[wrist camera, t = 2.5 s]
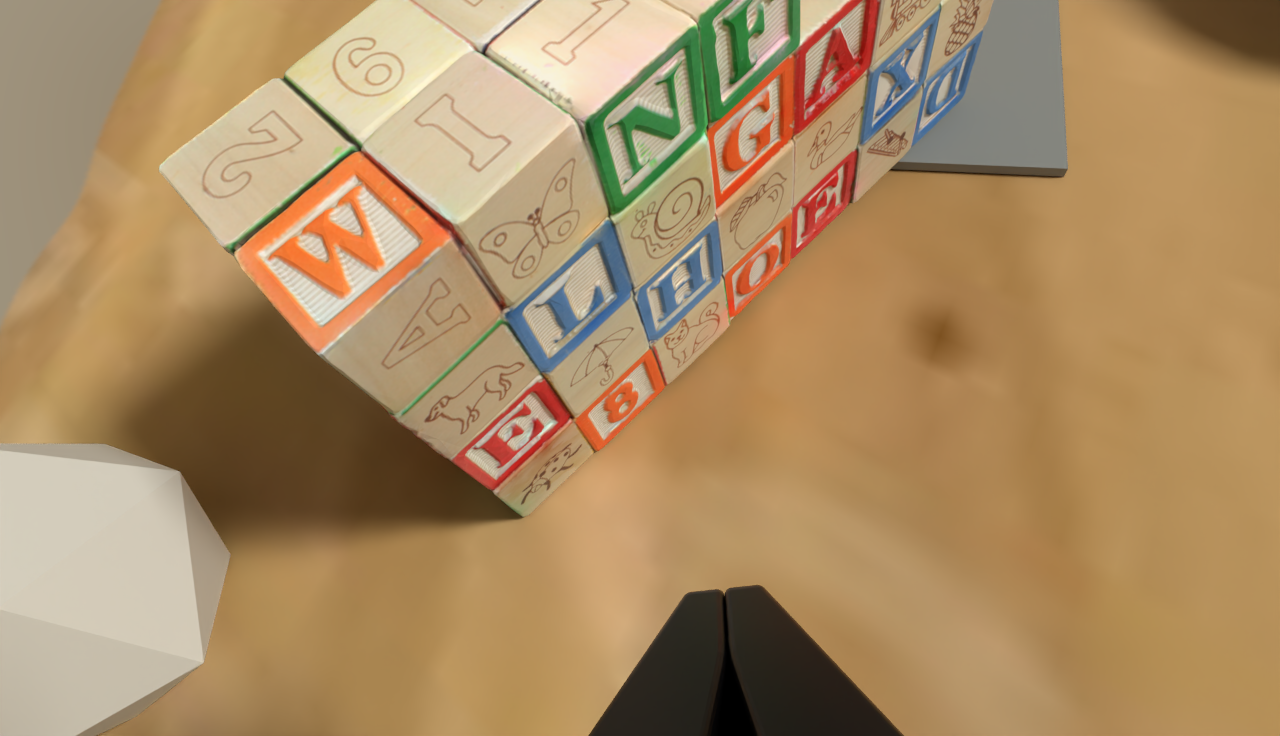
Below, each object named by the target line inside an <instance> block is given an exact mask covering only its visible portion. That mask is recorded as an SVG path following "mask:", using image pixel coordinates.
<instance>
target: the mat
mask: <svg viewBox="0 0 1280 736" xmlns="http://www.w3.org/2000/svg"><path fill="white" fill-rule="evenodd" d="M891 169H902V170H925V171H948V172H971V173H994V174H1016V175H1039V176H1062V177H1064V175H1065V173H1066V171H1067V169H1068V163H1067V146H1066V128H1065V110H1064V92H1063V74H1062V56H1061V39H1060V21H1059V3H1058V0H993V3H992V7H991V10H990V14H989V17H988V20H987V23H986V25H985V26H984V27H983V34H982V38H981V42H980V45H979V48H978V51H977V54H976V58H975V62H974V65H973V67H972V70H971V74H970V78H969V82H968V85H967V88H966V92H965V94H964V96H963V98H962V99H961V100H960V101H959V102H958V103H957V104H956V105H955V106H954V107H953V108H952V109H951V110H950V111H949V112H948V113H947V114H946V115H945V116H944V117H943V118H942V119H940V121H939V122H938V123H937V124H936V125H935V126H934V127H933V128H932V129H931V130H930V131H928V132H927V133H926V134H925V135H924V136H923V137H922V138H921V139H920V140H919V141H918V142H917V143H916V144H915V145H913V146H912V147H911V148H910V149H909V151H908V152H907V153H906V154H905V155H904V156H903V157H902V158H901V159H900V160H899V161H898V162H897V163H896V164H895V165H894V166H893V167H892V168H891Z"/></svg>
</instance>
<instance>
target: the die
mask: <svg viewBox="0 0 1280 736" xmlns="http://www.w3.org/2000/svg"><path fill="white" fill-rule="evenodd" d="M230 556H231V554H230V553H229V551H228V550H227V548H226V546H225V545H224V543H223V541H222V540H221V538H220V536H219V535H218V533H217V532H216V530H215V528H214V527H213V525H212V523H211V522H210V520H209V518H208V517H207V515H206V514H205V512H204V510H203V509H202V507H201V505H200V504H199V502H198V500H197V499H196V497H195V495H194V494H193V492H192V491H191V489H190V487H189V486H188V484H187V482H186V481H185V479H184V477H183V476H182V474H181V473H180V471H177V470H174V469H172V468H169V467H166V466H164V465H161V464H158V463H155V462H153V461H150V460H147V459H145V458H142V457H139V456H136V455H134V454H131V453H128V452H126V451H123V450H120V449H117V448H115V447H112V446H109V445H107V444H0V736H96V735H99V734H101V733H103V732H105V731H107V730H109V729H111V728H113V727H115V726H118V725H120V724H122V723H124V722H126V721H128V720H130V719H132V718H134V717H136V716H138V715H139V714H140V713H141V712H143V711H144V710H145V709H146V708H148V707H149V706H150V705H151V704H153V703H154V702H155V701H156V700H158V699H159V698H160V697H161V696H163V695H164V694H165V693H166V692H168V691H169V690H170V689H171V688H173V687H174V686H175V685H176V684H178V683H179V682H180V681H181V680H183V679H184V678H185V677H186V676H188V675H189V674H190V673H191V672H193V671H194V670H195V669H197V668H198V667H199V666H200V665H202V664H203V663H204V660H205V656H206V652H207V648H208V644H209V640H210V636H211V632H212V628H213V624H214V620H215V616H216V612H217V608H218V604H219V600H220V596H221V592H222V588H223V584H224V580H225V576H226V572H227V568H228V564H229V560H230Z"/></svg>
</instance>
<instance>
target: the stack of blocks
mask: <svg viewBox="0 0 1280 736" xmlns="http://www.w3.org/2000/svg"><path fill="white" fill-rule="evenodd" d="M992 3H993V0H376V1H375V2H373V3H372V4H371V5H370V6H368V7H367V8H366V9H365V10H363V11H362V12H361V13H360V14H358V15H357V16H356V17H355V18H353V19H352V20H351V21H349V22H348V23H347V24H345V25H344V26H343V27H342V28H340V29H339V30H338V31H336V32H335V33H334V34H332V35H331V36H330V37H328V38H327V39H326V40H325V41H323V42H322V43H321V44H319V45H318V46H317V47H315V48H314V49H313V50H311V51H310V52H309V53H308V54H306V55H305V56H304V57H303V58H301V59H300V60H299V61H297V62H296V63H295V64H294V65H292V66H291V67H290V68H289V69H288V70H287V71H286V72H285V75H284V79H272V80H270V81H269V82H267V83H265V84H264V85H262V86H261V87H259V88H258V89H256V90H255V91H254V92H253V93H251V94H250V95H249V96H247V97H246V98H245V99H244V100H242V101H241V102H240V103H238V104H237V105H236V106H235V107H233V108H232V109H231V110H229V111H228V112H227V113H226V114H224V115H223V116H222V117H220V118H219V119H218V120H217V121H215V122H214V123H213V124H211V125H210V126H209V127H207V128H206V129H205V130H203V131H202V132H201V133H199V134H198V135H197V136H195V137H194V138H193V139H191V140H190V141H188V142H187V143H186V144H184V145H183V146H182V147H180V148H179V149H178V150H176V151H175V152H174V153H172V154H171V155H170V156H168V157H167V158H166V159H165V161H164V162H163V163H162V164H161V165H160V166H159V172H160V173H161V174H162V175H163V176H164V177H165V179H166V180H167V181H168V182H169V183H170V184H171V185H172V187H173V188H174V189H175V190H176V192H177V193H178V194H179V195H180V196H181V198H182V199H183V200H184V201H185V202H186V204H187V205H188V206H189V207H190V208H191V210H192V211H193V212H194V213H195V215H196V216H197V217H198V218H199V219H200V221H201V222H202V223H203V224H204V225H205V227H206V228H207V229H208V230H209V232H210V233H211V234H212V235H213V236H214V238H215V239H216V240H217V241H218V243H219V244H220V245H221V246H222V247H223V248H224V249H225V250H226V251H227V252H228V253H230V254H231V255H233V256H234V257H235V259H236V261H237V263H238V264H239V265H240V267H241V268H242V269H243V271H244V272H245V273H246V274H247V275H248V276H249V278H250V279H251V280H252V281H253V282H254V283H255V285H256V286H257V287H258V288H259V289H260V291H261V292H262V293H263V294H264V295H265V296H266V298H267V299H268V300H269V301H270V302H271V303H272V305H273V306H274V307H275V308H276V309H277V310H278V312H279V313H280V314H281V315H282V316H283V317H284V318H285V320H286V321H287V322H288V323H289V324H290V325H291V327H292V328H293V329H294V330H295V331H296V332H297V333H298V335H299V336H300V337H301V338H302V339H303V340H304V341H305V343H306V344H307V345H308V346H309V347H310V348H311V349H312V350H313V351H314V352H315V353H317V354H318V355H319V356H320V357H321V358H322V359H323V360H324V361H326V362H327V363H328V364H329V365H331V366H332V367H333V368H334V369H336V370H337V371H338V372H340V373H341V374H342V375H343V376H345V377H346V378H347V379H348V380H350V381H351V382H352V383H354V384H355V385H356V386H357V387H359V388H360V389H361V390H363V391H364V392H365V393H366V394H368V395H369V396H370V397H371V398H373V399H374V400H375V401H377V402H378V403H379V404H380V405H381V406H382V407H383V408H384V409H385V410H386V411H387V413H388V414H389V415H390V416H391V417H392V418H393V419H394V420H396V421H397V422H398V423H399V424H400V425H402V426H403V427H404V428H406V429H408V430H411V432H412V433H413V434H414V435H415V436H416V437H418V438H419V439H421V440H423V441H424V442H425V443H426V444H427V445H428V446H430V447H431V448H432V449H433V450H434V451H436V452H437V453H439V454H440V455H442V456H443V457H444V458H448V459H449V460H450V461H451V462H452V463H454V464H455V465H457V466H458V467H459V468H460V469H462V470H463V471H464V472H466V473H467V474H468V475H470V476H471V477H472V478H474V479H475V480H477V481H478V482H479V483H481V484H482V485H483V486H485V487H486V488H487V489H490V490H491V491H492V492H493V493H494V494H495V495H496V496H497V497H498V498H499V499H500V500H502V501H503V502H504V503H505V504H506V505H507V506H509V507H510V508H511V509H513V510H514V511H515V512H516V513H518V514H519V515H521V516H522V517H525V516H528V515H529V514H530V513H531V512H533V511H534V510H535V509H536V508H537V507H538V506H539V505H540V504H541V503H542V502H543V501H544V500H545V499H546V498H547V497H548V496H549V495H550V494H551V493H552V492H553V491H554V490H556V489H557V488H558V487H559V486H560V485H561V484H562V483H563V482H564V481H565V480H566V479H567V478H568V477H569V476H570V475H571V474H572V473H573V472H574V471H576V470H577V469H578V468H579V467H580V466H581V465H582V464H583V463H584V462H585V461H586V460H587V459H588V458H589V457H590V456H591V455H592V454H593V453H594V452H596V451H599V450H600V449H602V448H603V447H604V446H605V445H606V444H607V443H608V442H609V441H611V440H612V439H613V438H614V437H615V436H616V435H617V434H618V433H619V432H620V431H621V430H622V429H623V428H624V427H625V426H626V425H627V424H628V423H629V422H630V421H631V420H632V419H633V418H634V417H635V416H636V415H637V414H639V413H640V412H641V411H642V410H643V409H644V408H645V407H646V406H647V405H648V404H649V403H650V402H651V401H652V400H653V399H654V398H655V397H656V396H657V395H658V394H659V393H660V392H661V391H662V390H663V389H664V388H665V386H666V385H668V384H669V383H670V382H672V381H673V380H674V379H675V378H676V377H677V376H678V375H679V374H681V373H682V372H683V371H684V370H685V369H686V368H687V367H688V366H689V365H690V364H691V363H692V362H693V361H694V360H695V359H696V358H697V357H698V356H699V355H700V354H702V353H703V352H704V351H705V350H706V349H707V348H708V347H709V346H710V345H711V344H712V343H713V342H714V341H715V340H716V339H717V338H718V337H719V336H720V335H721V334H722V333H723V332H724V331H725V330H726V329H727V328H728V327H729V325H730V321H731V320H732V318H733V317H734V316H736V315H737V314H739V313H740V312H741V311H742V310H743V309H744V307H745V306H746V305H747V304H748V303H750V302H751V300H752V299H753V298H754V297H755V296H756V295H758V294H759V293H760V292H761V291H762V290H763V289H764V288H765V287H766V286H767V285H768V284H769V283H770V282H771V281H772V280H773V279H774V278H775V277H776V276H778V275H779V274H780V273H781V272H782V271H783V270H784V269H785V268H786V267H787V266H788V265H789V263H790V260H791V259H792V258H794V257H795V256H796V255H797V254H798V253H799V252H800V251H801V250H802V249H803V248H804V247H806V246H807V245H808V244H809V243H810V242H811V241H812V240H813V239H814V238H815V237H816V236H817V235H818V234H819V233H820V232H821V231H822V230H823V229H824V228H825V227H826V226H827V225H828V224H829V223H830V222H832V221H833V220H834V219H835V218H836V217H837V216H838V215H839V214H840V213H841V212H842V211H843V210H844V209H845V208H846V206H847V205H848V204H849V203H854V202H856V201H858V200H859V199H860V198H861V197H862V196H863V195H864V194H865V193H866V192H867V191H868V190H869V189H870V188H871V187H872V186H873V185H874V184H875V183H876V182H877V181H878V180H879V179H880V178H881V177H882V176H883V175H884V174H885V173H887V172H888V171H889V170H890V169H891V168H892V167H893V166H894V165H895V164H896V163H897V162H898V161H899V160H900V159H901V158H902V157H903V156H904V155H905V154H906V153H907V152H908V151H909V149H910V148H911V147H912V146H913V145H915V144H916V143H917V142H918V141H919V140H920V139H921V138H922V137H923V136H924V135H925V134H926V133H927V132H928V131H930V130H931V129H932V128H933V127H934V126H935V125H936V124H937V123H938V122H939V121H940V119H942V118H943V117H944V116H945V115H946V114H947V113H948V112H949V111H950V110H951V109H952V108H953V107H954V106H955V105H956V104H957V103H958V102H959V101H960V100H961V99H962V98H963V96H964V94H965V92H966V88H967V85H968V82H969V78H970V74H971V70H972V67H973V65H974V62H975V58H976V54H977V51H978V48H979V45H980V42H981V38H982V34H983V27H984V26H985V25H986V23H987V20H988V17H989V14H990V10H991V7H992Z"/></svg>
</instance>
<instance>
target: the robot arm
mask: <svg viewBox="0 0 1280 736" xmlns="http://www.w3.org/2000/svg"><path fill="white" fill-rule="evenodd" d="M589 736H904V735H903V734H902V733H901V732H900V731H899V730H898V729H897V728H896V727H895V726H894V725H893V724H892V723H891V722H890V720H889V719H888V718H887V717H886V716H885V715H884V714H883V713H882V712H881V711H880V710H879V709H878V708H877V707H876V706H875V705H874V704H873V702H872V701H871V700H870V699H869V698H868V697H867V696H866V695H865V694H864V693H863V692H862V691H861V690H860V689H859V688H858V687H857V686H856V684H855V683H854V682H853V681H852V680H851V679H850V678H849V677H848V676H847V675H846V674H845V673H844V672H843V671H842V670H841V669H840V668H839V667H838V665H837V664H836V663H835V662H834V661H833V660H832V659H831V658H830V657H829V656H828V655H827V654H826V653H825V652H824V651H823V650H822V649H821V647H820V646H819V645H818V644H817V643H816V642H815V641H814V640H813V639H812V638H811V637H810V636H809V635H808V634H807V633H806V632H805V631H804V629H803V628H802V627H801V626H800V625H799V624H798V623H797V622H796V621H795V620H794V619H793V618H792V617H791V616H790V615H789V614H788V613H787V611H786V610H785V609H784V608H783V607H782V606H781V605H780V604H779V603H778V602H777V601H776V600H775V599H774V598H773V597H772V596H771V595H770V594H769V592H768V591H767V590H766V589H765V588H764V587H762V586H760V585H752V586H743V587H734V588H729V589H728V590H726V592H725V596H724V593H723V592H722V591H721V590H717V589H715V590H706V591H696V592H689V593H687V594H686V595H685V596H684V597H683V598H682V600H681V601H680V603H679V604H678V606H677V607H676V609H675V610H674V611H673V613H672V614H671V616H670V617H669V619H668V620H667V622H666V623H665V625H664V626H663V628H662V629H661V630H660V632H659V633H658V635H657V636H656V638H655V639H654V641H653V642H652V644H651V645H650V647H649V648H648V649H647V651H646V652H645V654H644V655H643V657H642V658H641V660H640V661H639V663H638V664H637V666H636V667H635V668H634V670H633V671H632V673H631V674H630V676H629V677H628V679H627V680H626V682H625V683H624V685H623V686H622V687H621V689H620V690H619V692H618V693H617V695H616V696H615V698H614V699H613V701H612V702H611V704H610V705H609V706H608V708H607V709H606V711H605V712H604V714H603V715H602V717H601V718H600V720H599V721H598V723H597V724H596V725H595V727H594V728H593V730H592V731H591V733H590V734H589Z"/></svg>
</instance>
